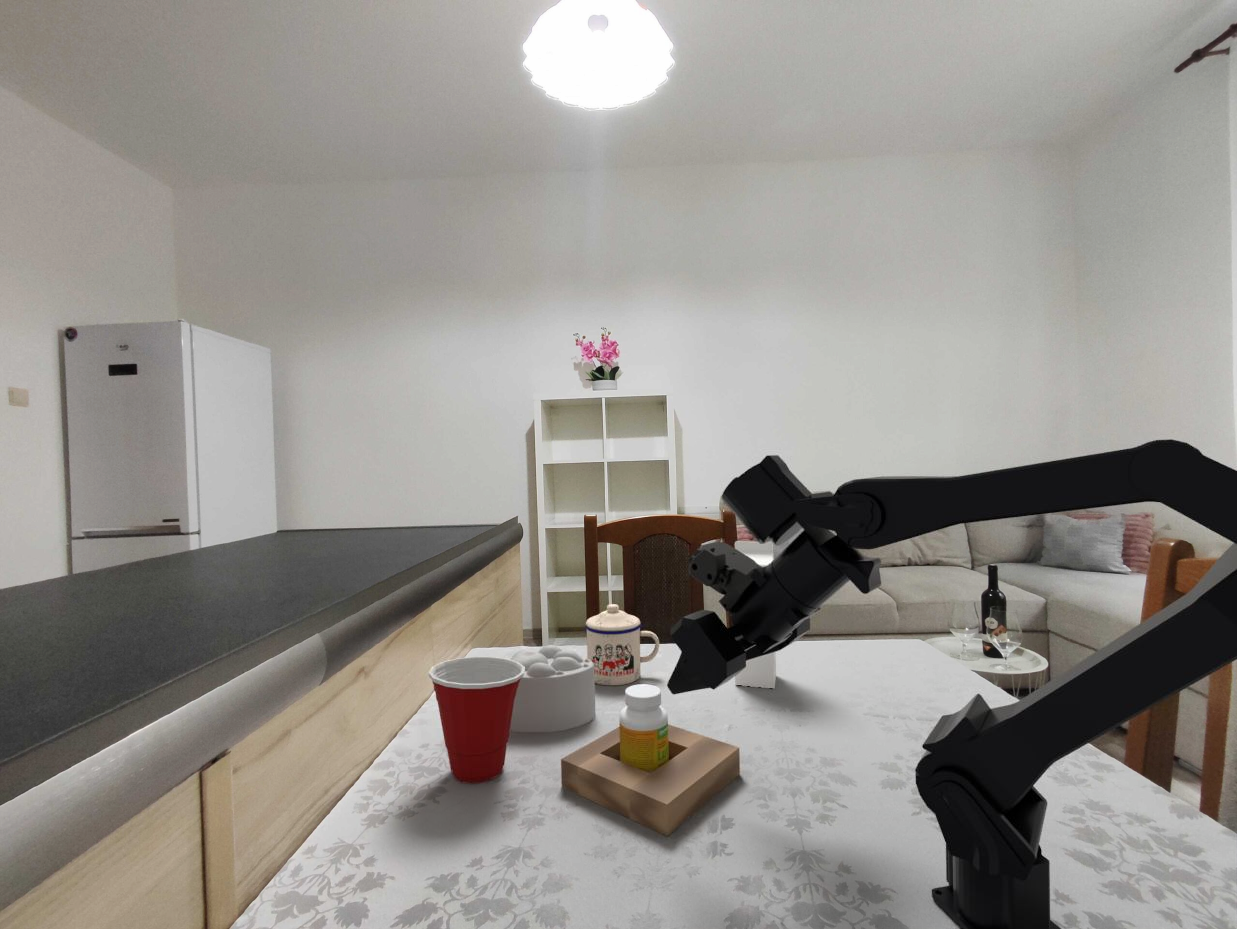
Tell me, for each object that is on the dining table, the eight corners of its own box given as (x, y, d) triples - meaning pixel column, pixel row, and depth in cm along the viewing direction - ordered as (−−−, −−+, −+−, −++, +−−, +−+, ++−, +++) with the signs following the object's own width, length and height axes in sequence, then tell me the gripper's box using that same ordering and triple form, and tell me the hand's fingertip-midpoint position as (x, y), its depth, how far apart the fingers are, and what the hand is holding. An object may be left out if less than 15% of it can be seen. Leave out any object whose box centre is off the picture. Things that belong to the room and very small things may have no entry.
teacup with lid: (584, 687, 94) (582, 612, 94) (588, 667, 103) (586, 599, 103) (661, 686, 93) (660, 611, 93) (658, 666, 103) (657, 598, 102)
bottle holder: (739, 774, 67) (739, 747, 67) (667, 836, 56) (667, 804, 56) (640, 738, 76) (639, 715, 76) (561, 786, 65) (561, 758, 65)
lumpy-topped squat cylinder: (511, 700, 89) (510, 642, 89) (598, 700, 89) (597, 642, 89) (492, 732, 79) (491, 666, 79) (591, 732, 78) (590, 666, 78)
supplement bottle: (665, 793, 64) (664, 701, 64) (615, 788, 65) (614, 698, 65) (671, 767, 69) (670, 682, 69) (625, 763, 70) (623, 680, 70)
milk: (738, 672, 99) (735, 538, 99) (776, 675, 97) (773, 539, 97) (734, 686, 93) (731, 543, 93) (775, 689, 91) (772, 544, 91)
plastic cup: (546, 770, 69) (543, 666, 69) (458, 808, 62) (455, 691, 62) (497, 738, 77) (495, 645, 77) (415, 768, 70) (412, 665, 70)
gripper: (781, 509, 66) (696, 596, 73) (687, 526, 52) (593, 632, 59) (855, 590, 61) (757, 675, 68) (774, 634, 47) (660, 735, 54)
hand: (695, 675), depth 62 cm, fingers open, 9 cm apart
